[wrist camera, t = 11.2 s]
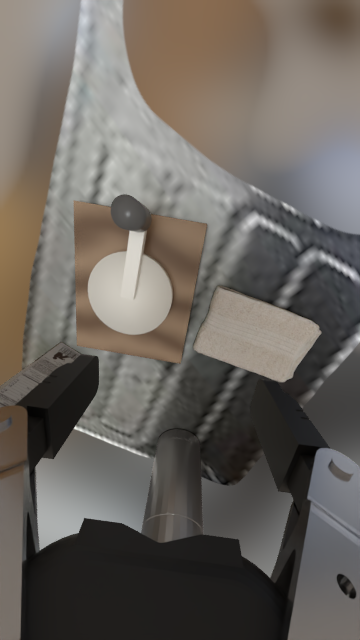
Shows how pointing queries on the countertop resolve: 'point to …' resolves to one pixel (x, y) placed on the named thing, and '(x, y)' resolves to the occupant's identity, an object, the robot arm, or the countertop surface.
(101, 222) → the dial board
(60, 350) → the coffee box
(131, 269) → the dial
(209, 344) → the washcloth
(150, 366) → the countertop surface
